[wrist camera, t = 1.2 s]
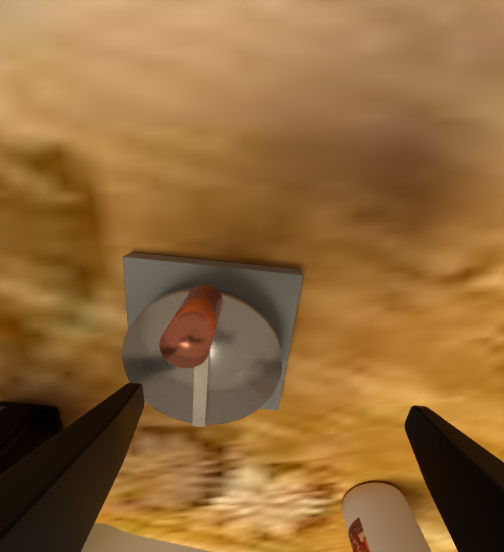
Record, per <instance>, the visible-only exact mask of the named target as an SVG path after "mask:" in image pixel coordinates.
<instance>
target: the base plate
mask: <svg viewBox="0 0 504 552" xmlns="http://www.w3.org/2000/svg"><path fill="white" fill-rule="evenodd" d="M123 268H124V281H125V294H126V307H127V321H128V329H129V327H130V326H131V324H132V323H133V321H134V320H135V319H136V317H137V316H138V315H139V314H140V313H141V312H142V311H143V310H144V309H145V308H146V307H147V306H148V305H149V304H150V303H152V302H153V301H155V300H156V299H157V298H159V297H161V296H163V295H165V294H168V293H170V292H173V291H176V290H181V289H185V288H194V287H195V286H198V285H201V284H206V285H211V286H213V287H215V288H216V289H219V290H223V291H226V292H230V293H232V294H234V295H237V296H239V297H241V298H243V299H245V300H246V301H248V302H250V303H251V304H252V305H254V306H255V307H256V308H258V309H259V310H260V311H261V312H262V313H263V314H264V315H265V316H266V318H267V319H268V320H269V322H270V323H271V325H272V326H273V328H274V330H275V332H276V334H277V337H278V340H279V344H280V349H281V355H282V372H281V377H280V380H279V383H278V385H277V388H276V390H275V391H274V393H273V394H272V396H271V397H270V398H269V400H268V401H267V402H266V403H265V404H264V405H263V406H261V407H260V408H259V409H270V410H278V408H279V403H280V397H281V392H282V386H283V381H284V376H285V370H286V365H287V359H288V354H289V349H290V343H291V338H292V332H293V327H294V322H295V316H296V311H297V305H298V300H299V294H300V289H301V284H302V278H303V274H302V272H301V271H300V269H292V268H282V267H273V266H263V265H253V264H243V263H234V262H224V261H214V260H205V259H195V258H185V257H176V256H166V255H156V254H147V253H137V252H131V253H129V254H127V255H125V256H123Z"/></svg>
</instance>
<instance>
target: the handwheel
mask: <svg viewBox="0 0 504 552" xmlns="http://www.w3.org/2000/svg"><path fill="white" fill-rule="evenodd" d="M123 364H124V368H125V372H126V375H127V377H128V379H129V381H130V382H132V383H141V384H142V385H143V394H144V400H145V401H146V402H147V403H148V404H149V405H151V406H152V407H153V408H155V409H156V410H158V411H160V412H161V413H163V414H165V415H167V416H170V417H172V418H175V419H178V420H181V421H184V422H189V423H193V424H192V426H200V427H205V424H206V425H211V424H222V423H228V422H232V421H236V420H239V419H241V418H244V417H246V416H248V415H250V414H252V413H253V412H255V411H256V410H258V409H259V408H260V407H261V406H263V405H264V404H265V403H266V402H267V401H268V400H269V398H270V397H271V396H272V394H273V393H274V391H275V390H276V388H277V385H278V383H279V380H280V377H281V372H282V355H281V349H280V344H279V340H278V337H277V334H276V332H275V330H274V328H273V326H272V325H271V323H270V322H269V320H268V319H267V318H266V316H265V315H264V314H263V313H262V312H261V311H260V310H259V309H258V308H256V307H255V306H254V305H252V304H251V303H250V302H248V301H246V300H245V299H243V298H241V297H239V296H237V295H234V294H232V293H230V292H226V291H223V290H219V289H216V288H215V287H213V286H211V285H206V284H201V285H198V286H195V287H194V288H185V289H181V290H176V291H173V292H170V293H168V294H165V295H163V296H161V297H159V298H157V299H156V300H155V301H153V302H152V303H150V304H149V305H148V306H147V307H146V308H145V309H144V310H143V311H142V312H141V313H140V314H139V315H138V316H137V317H136V319H135V320H134V321H133V323H132V324H131V326H130V327H129V329H128V331H127V333H126V336H125V339H124V344H123Z"/></svg>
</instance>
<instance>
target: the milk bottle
mask: <svg viewBox="0 0 504 552" xmlns="http://www.w3.org/2000/svg"><path fill="white" fill-rule="evenodd" d="M342 511H343V515H344V519H345V523H346V527H347V530H348V534H349V538H350V542H351V545H352V549H353V552H431V550H430V548H429V546H428V544H427V542H426V540H425V538H424V536H423V534H422V532H421V529H420V527H419V525H418V523H417V521H416V519H415V517H414V515H413V513H412V511H411V509H410V507H409V505H408V503H407V501H406V499H405V497H404V496H403V494H402V493H401V492H400V491H399V490H398V489H397V488H395V487H394V486H392V485H390V484H386V483H379V482H377V483H366V484H363V485H360V486H357V487H355V488H354V489H352V490H350V491H349V492H348V493H347V494H346V495H345V497H344V499H343V504H342Z"/></svg>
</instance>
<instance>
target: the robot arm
mask: <svg viewBox="0 0 504 552" xmlns="http://www.w3.org/2000/svg"><path fill="white" fill-rule="evenodd" d="M143 407H144V394H143V385H142V384H141V383H132V382H130V383H128V384H126V385H125V386H123V387H122V388H120V389H119V390H118V391H116V392H115V393H114V394H112V395H111V396H109V397H108V398H107V399H105V400H104V401H102V402H101V403H100V404H98V405H97V406H95V407H94V408H93V409H91V410H90V411H89V412H87V413H86V414H84V415H83V416H82V417H80V418H79V419H77V420H76V421H75V422H73V423H72V424H70V425H69V426H68V427H66V428H65V429H64V430H62V426H61V422H60V417H59V412H58V410H57V409H56V408H55V407H47V406H36V405H24V404H13V403H2V402H0V552H81V550H82V548H83V546H84V544H85V542H86V540H87V537H88V535H89V533H90V531H91V529H92V527H93V525H94V523H95V521H96V519H97V517H98V514H99V512H100V510H101V508H102V506H103V504H104V502H105V500H106V498H107V496H108V493H109V491H110V489H111V487H112V485H113V483H114V481H115V479H116V477H117V475H118V472H119V470H120V468H121V466H122V464H123V462H124V459H125V457H126V454H127V451H128V449H129V446H130V443H131V441H132V438H133V435H134V432H135V430H136V427H137V424H138V422H139V419H140V416H141V413H142V411H143ZM405 431H406V434H407V436H408V439H409V441H410V444H411V447H412V449H413V452H414V454H415V457H416V460H417V462H418V465H419V467H420V470H421V473H422V475H423V478H424V480H425V482H426V485H427V487H428V489H429V491H430V494H431V496H432V498H433V500H434V502H435V504H436V506H437V508H438V510H439V512H440V515H441V517H442V519H443V521H444V523H445V525H446V527H447V529H448V531H449V533H450V535H451V538H452V540H453V542H454V544H455V546H456V548H457V550H458V552H504V462H502V461H501V460H500V459H498V458H497V457H495V456H494V455H493V454H491V453H490V452H488V451H487V450H486V449H484V448H483V447H482V446H480V445H479V444H477V443H476V442H475V441H473V440H472V439H471V438H469V437H468V436H466V435H465V434H464V433H462V432H461V431H459V430H458V429H457V428H455V427H454V426H453V425H451V424H450V423H448V422H447V421H446V420H444V419H443V418H442V417H440V416H439V415H437V414H436V413H435V412H433V411H432V410H430V409H429V408H427V407H425V406H412V407H411V409H410V411H409V414H408V416H407V419H406V421H405Z"/></svg>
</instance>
